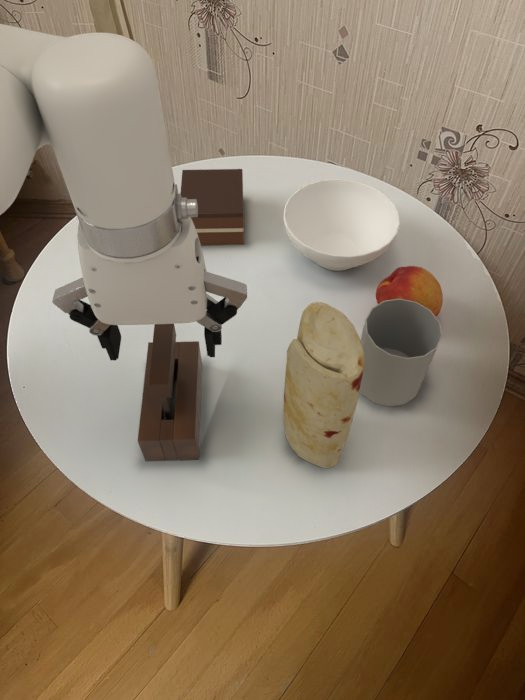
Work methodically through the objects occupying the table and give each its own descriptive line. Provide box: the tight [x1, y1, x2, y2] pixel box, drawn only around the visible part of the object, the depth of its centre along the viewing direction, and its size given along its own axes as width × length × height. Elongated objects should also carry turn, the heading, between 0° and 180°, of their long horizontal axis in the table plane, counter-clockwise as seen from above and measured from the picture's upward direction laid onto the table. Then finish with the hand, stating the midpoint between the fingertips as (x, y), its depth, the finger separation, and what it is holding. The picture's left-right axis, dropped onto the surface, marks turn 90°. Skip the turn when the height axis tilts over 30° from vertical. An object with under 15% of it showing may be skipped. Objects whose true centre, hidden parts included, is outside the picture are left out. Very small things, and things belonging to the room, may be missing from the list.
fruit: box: [375, 265, 444, 318], centre depth 73 cm, size 8×8×8 cm
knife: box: [148, 324, 177, 420], centre depth 63 cm, size 2×8×12 cm, turn 2°
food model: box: [282, 301, 364, 469], centre depth 57 cm, size 10×7×20 cm
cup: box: [359, 299, 443, 408], centre depth 66 cm, size 8×8×10 cm
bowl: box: [283, 178, 401, 272], centre depth 80 cm, size 16×16×7 cm
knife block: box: [137, 340, 203, 462], centre depth 65 cm, size 6×13×5 cm, turn 2°
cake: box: [180, 168, 245, 246], centre depth 84 cm, size 9×10×6 cm
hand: (164, 347), depth 57 cm, fingers open, 9 cm apart
